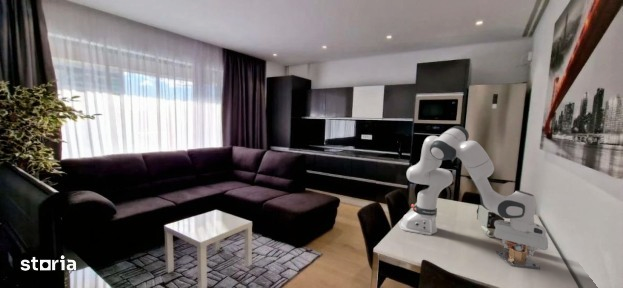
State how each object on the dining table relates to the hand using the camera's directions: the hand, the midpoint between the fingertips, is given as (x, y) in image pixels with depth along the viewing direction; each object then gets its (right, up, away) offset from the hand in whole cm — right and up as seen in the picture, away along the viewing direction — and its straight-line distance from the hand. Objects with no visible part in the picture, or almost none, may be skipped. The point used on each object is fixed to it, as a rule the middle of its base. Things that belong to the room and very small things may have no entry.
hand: (518, 251), depth 122 cm
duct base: (0, -5, 0) cm, 5 cm away
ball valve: (+6, -2, +29) cm, 29 cm away
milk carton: (+9, -4, +12) cm, 16 cm away
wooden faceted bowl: (0, -4, 0) cm, 4 cm away
